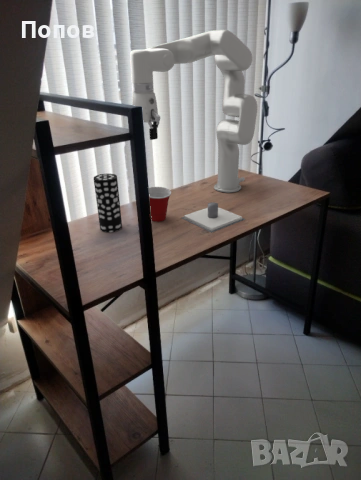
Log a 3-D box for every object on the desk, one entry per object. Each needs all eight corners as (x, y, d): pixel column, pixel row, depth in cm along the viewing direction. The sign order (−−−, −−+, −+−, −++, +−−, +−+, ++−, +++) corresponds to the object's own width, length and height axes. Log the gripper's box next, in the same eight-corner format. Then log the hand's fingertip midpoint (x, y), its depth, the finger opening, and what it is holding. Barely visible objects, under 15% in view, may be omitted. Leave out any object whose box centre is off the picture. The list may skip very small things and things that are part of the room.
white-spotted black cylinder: (122, 231, 144) (117, 179, 135) (99, 233, 143) (93, 181, 134) (121, 222, 151) (116, 172, 142) (100, 224, 150) (93, 174, 141)
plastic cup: (160, 227, 146) (158, 197, 140) (139, 221, 152) (137, 192, 146) (178, 218, 153) (177, 189, 148) (157, 212, 159) (155, 184, 154)
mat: (213, 207, 163) (213, 206, 162) (245, 220, 150) (245, 219, 150) (180, 218, 153) (180, 217, 153) (211, 233, 140) (211, 232, 140)
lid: (213, 207, 161) (213, 194, 159) (241, 219, 150) (242, 204, 147) (184, 217, 152) (183, 203, 150) (211, 230, 141) (211, 215, 138)
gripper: (166, 89, 133) (168, 139, 141) (137, 86, 145) (140, 132, 153) (148, 90, 129) (151, 142, 136) (120, 87, 141) (124, 135, 148)
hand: (145, 137), depth 144 cm, fingers open, 9 cm apart
